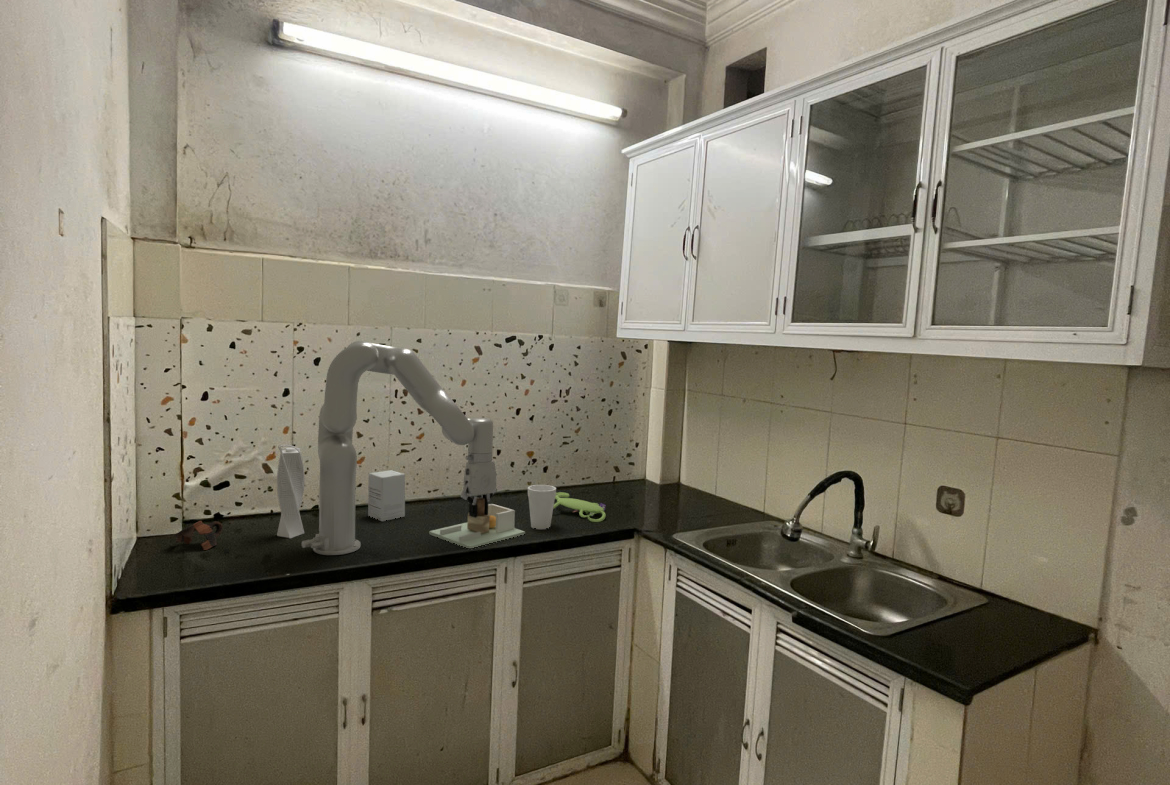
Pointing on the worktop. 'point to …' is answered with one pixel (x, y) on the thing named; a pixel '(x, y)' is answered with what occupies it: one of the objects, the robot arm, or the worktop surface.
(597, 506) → the figurine
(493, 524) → the ball
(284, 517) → the skyscraper
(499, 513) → the pitch
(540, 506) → the foam cup
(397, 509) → the supplement box
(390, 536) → the worktop surface
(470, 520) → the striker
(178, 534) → the brown irregular piece
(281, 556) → the worktop surface
